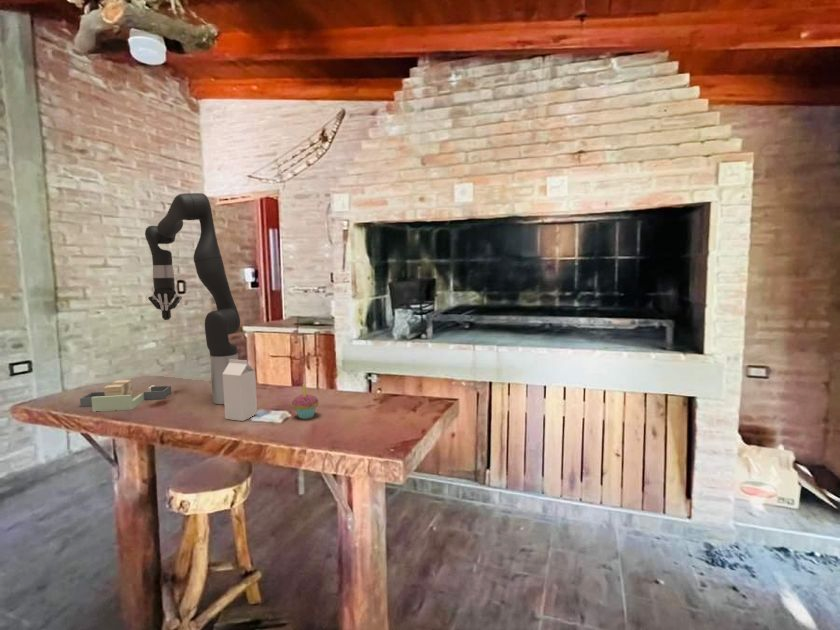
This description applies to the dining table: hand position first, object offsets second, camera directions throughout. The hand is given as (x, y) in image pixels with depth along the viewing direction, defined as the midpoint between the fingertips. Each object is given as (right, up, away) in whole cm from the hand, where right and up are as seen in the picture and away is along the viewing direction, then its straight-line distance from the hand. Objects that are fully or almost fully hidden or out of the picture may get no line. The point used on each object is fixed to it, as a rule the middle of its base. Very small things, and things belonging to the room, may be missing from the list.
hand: (166, 319), depth 201 cm
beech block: (-5, -30, -24) cm, 39 cm away
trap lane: (-5, -30, -18) cm, 35 cm away
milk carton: (+44, -32, -38) cm, 66 cm away
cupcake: (+65, -31, -39) cm, 82 cm away
